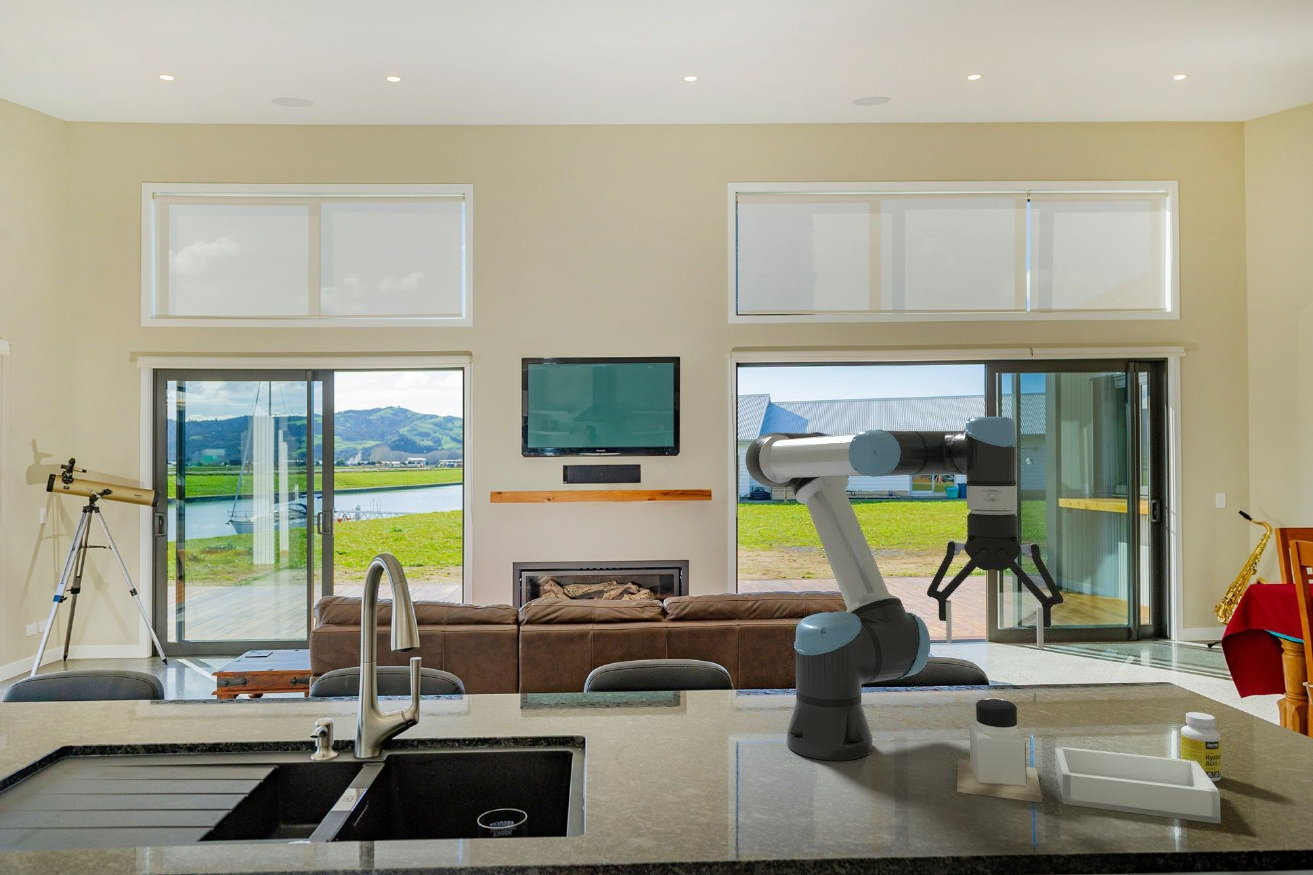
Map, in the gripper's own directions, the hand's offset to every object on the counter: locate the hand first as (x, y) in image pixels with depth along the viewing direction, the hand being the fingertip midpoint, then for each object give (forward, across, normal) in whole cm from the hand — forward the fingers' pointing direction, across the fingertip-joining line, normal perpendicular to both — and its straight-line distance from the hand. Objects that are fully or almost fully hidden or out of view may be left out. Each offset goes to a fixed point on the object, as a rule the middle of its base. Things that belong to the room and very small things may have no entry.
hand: (993, 644), depth 133 cm
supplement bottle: (+22, +31, +14) cm, 41 cm away
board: (+22, 0, 0) cm, 22 cm away
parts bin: (+22, +19, +1) cm, 29 cm away
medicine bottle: (+21, 0, 0) cm, 21 cm away
